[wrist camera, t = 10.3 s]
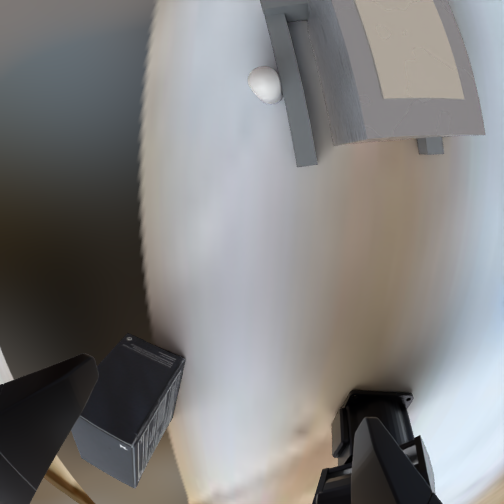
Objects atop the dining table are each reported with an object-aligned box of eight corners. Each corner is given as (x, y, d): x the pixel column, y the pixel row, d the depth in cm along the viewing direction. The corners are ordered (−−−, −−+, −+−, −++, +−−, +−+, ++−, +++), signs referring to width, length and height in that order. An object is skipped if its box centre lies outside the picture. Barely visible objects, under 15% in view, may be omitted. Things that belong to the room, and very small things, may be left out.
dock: (453, 152, 16) (479, 154, 12) (272, 170, 18) (265, 173, 15) (416, 5, 12) (433, -15, 9) (240, 16, 15) (228, -6, 12)
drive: (400, 139, 16) (486, 135, 7) (333, 146, 17) (368, 139, 8) (373, 28, 14) (419, -54, 4) (307, 32, 15) (306, -60, 5)
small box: (124, 328, 25) (57, 401, 15) (187, 356, 25) (136, 447, 15) (122, 394, 29) (78, 459, 19) (173, 418, 28) (137, 491, 19)
